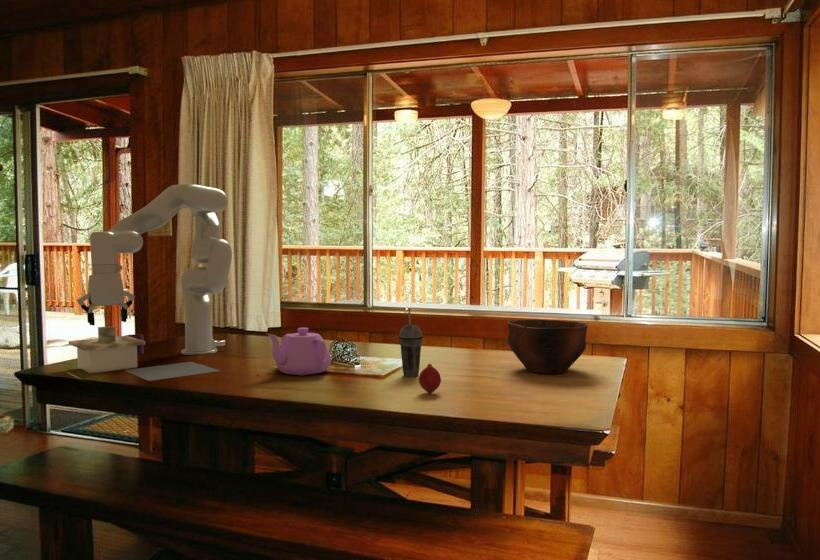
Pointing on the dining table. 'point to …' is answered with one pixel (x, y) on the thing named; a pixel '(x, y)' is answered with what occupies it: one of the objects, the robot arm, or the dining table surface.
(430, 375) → the onion
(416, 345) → the beverage cup
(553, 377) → the dining table surface
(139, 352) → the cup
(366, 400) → the dining table surface
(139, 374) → the mat
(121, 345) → the lid
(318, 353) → the teapot
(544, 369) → the bowl
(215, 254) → the robot arm
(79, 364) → the basin
